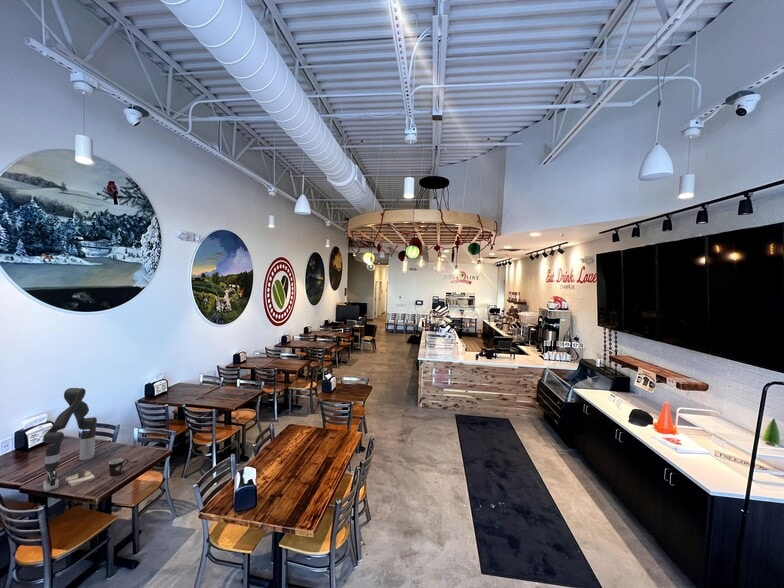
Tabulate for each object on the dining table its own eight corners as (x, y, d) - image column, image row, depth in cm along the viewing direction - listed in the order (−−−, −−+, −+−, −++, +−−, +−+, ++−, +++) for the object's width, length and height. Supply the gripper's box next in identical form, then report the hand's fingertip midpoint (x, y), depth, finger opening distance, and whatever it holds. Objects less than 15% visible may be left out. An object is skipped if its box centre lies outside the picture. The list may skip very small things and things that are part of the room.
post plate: (65, 479, 242) (65, 470, 242) (88, 472, 252) (88, 463, 253) (71, 487, 233) (71, 478, 233) (95, 479, 244) (95, 470, 244)
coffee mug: (107, 478, 245) (108, 465, 245) (108, 473, 252) (109, 460, 252) (127, 474, 252) (127, 461, 252) (128, 469, 259) (128, 456, 259)
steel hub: (43, 488, 230) (43, 481, 230) (55, 484, 236) (56, 477, 236) (45, 491, 227) (45, 484, 227) (58, 487, 232) (58, 480, 232)
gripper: (62, 461, 231) (61, 484, 230) (57, 455, 238) (55, 478, 238) (47, 465, 224) (46, 489, 224) (42, 459, 232) (40, 482, 232)
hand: (51, 483), depth 231 cm, fingers open, 8 cm apart
